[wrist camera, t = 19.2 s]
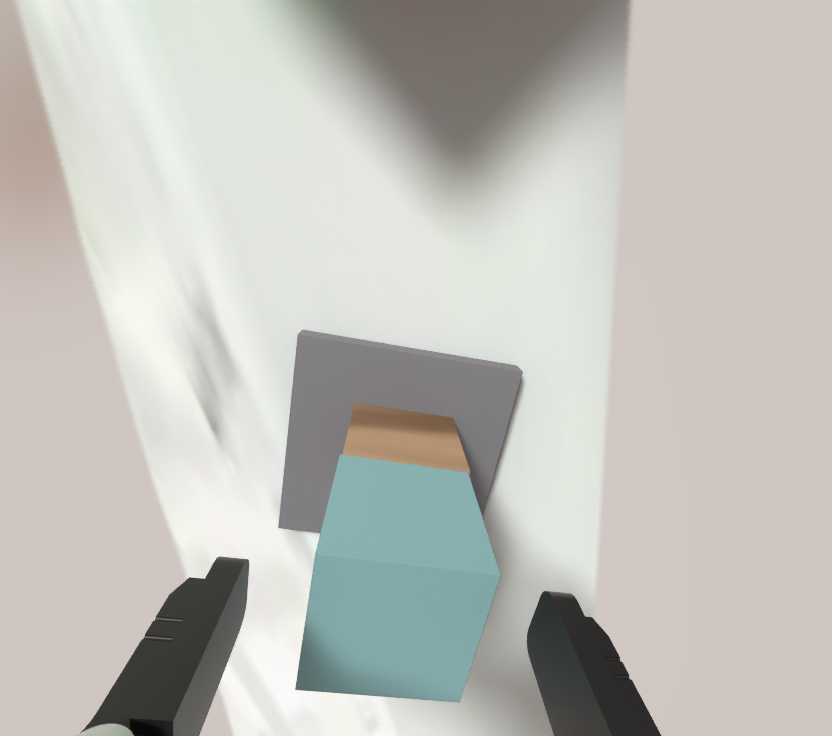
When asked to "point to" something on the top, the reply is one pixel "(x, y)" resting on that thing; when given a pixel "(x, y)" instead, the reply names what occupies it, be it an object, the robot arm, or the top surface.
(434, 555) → the teal block
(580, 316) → the top surface
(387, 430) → the tan block
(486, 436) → the mat
